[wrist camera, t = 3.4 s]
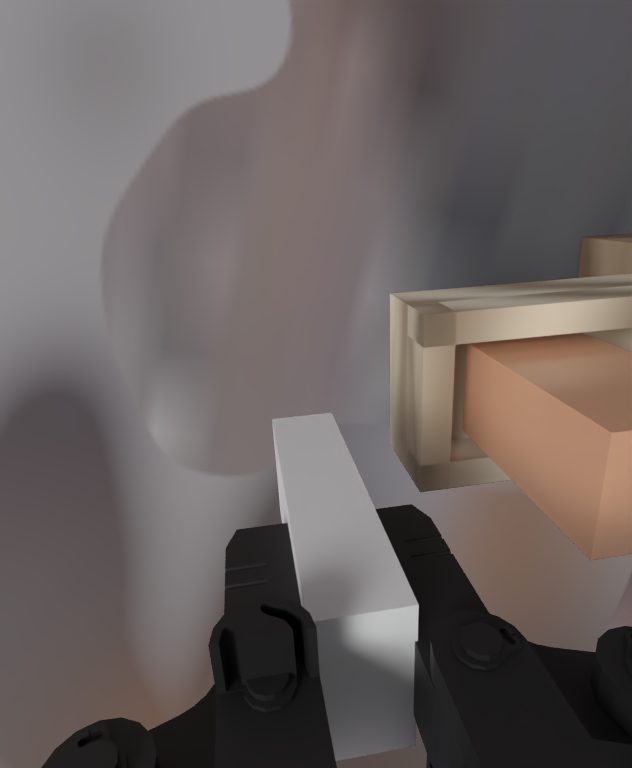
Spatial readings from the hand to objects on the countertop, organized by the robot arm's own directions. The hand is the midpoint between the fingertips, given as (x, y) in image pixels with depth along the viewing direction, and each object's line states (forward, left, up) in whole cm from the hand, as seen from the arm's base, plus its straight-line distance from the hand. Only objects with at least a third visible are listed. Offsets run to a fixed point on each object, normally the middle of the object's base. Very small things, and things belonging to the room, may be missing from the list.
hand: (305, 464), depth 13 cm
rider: (0, +8, -4) cm, 9 cm away
